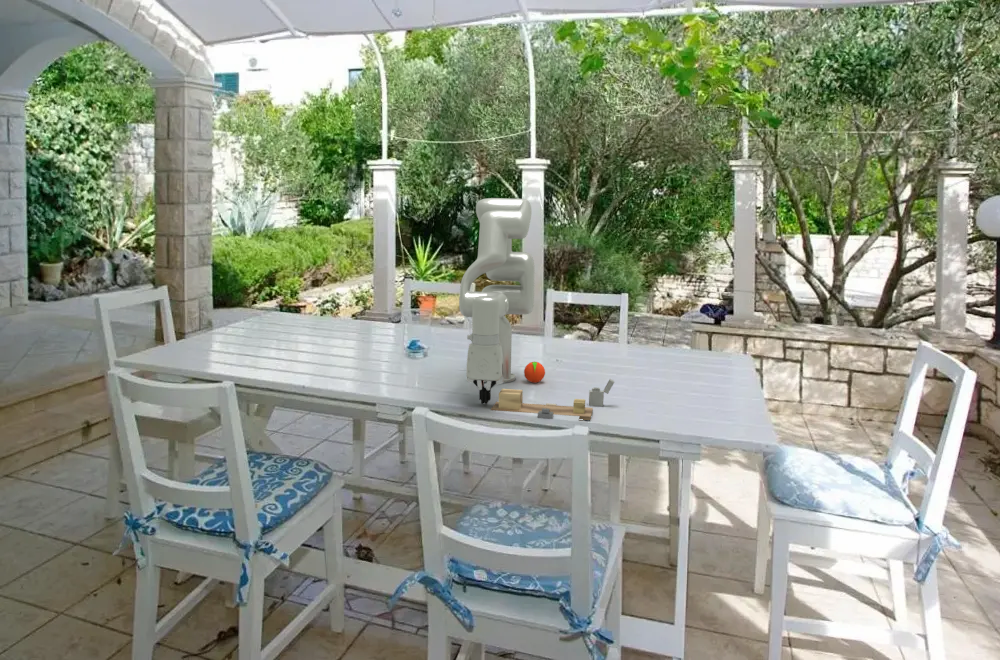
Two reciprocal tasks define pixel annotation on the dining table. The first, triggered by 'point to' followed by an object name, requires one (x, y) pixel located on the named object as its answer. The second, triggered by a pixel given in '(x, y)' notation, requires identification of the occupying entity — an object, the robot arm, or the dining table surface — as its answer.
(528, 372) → the clementine
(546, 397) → the dining table surface
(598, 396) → the lighter
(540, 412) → the fulcrum marker
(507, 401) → the block
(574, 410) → the beam
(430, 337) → the dining table surface
